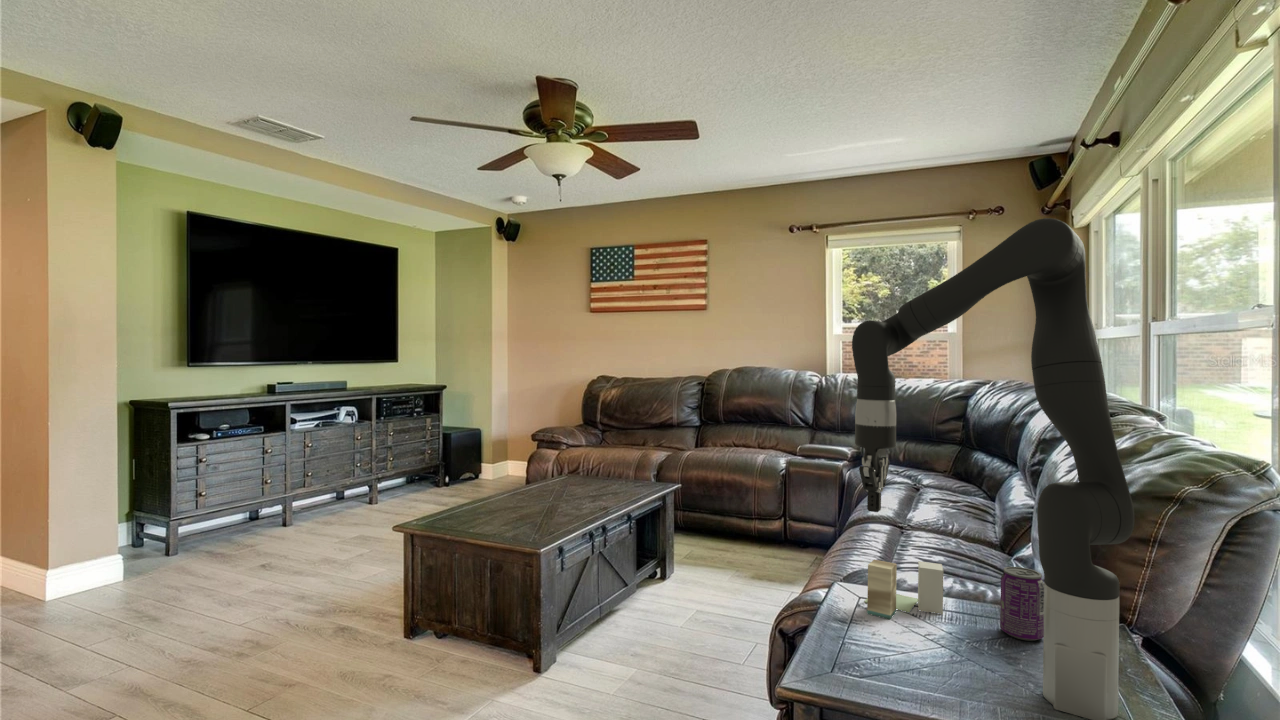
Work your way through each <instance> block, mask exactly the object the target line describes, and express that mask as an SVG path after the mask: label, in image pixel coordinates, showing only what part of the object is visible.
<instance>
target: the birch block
mask: <svg viewBox="0 0 1280 720" xmlns="http://www.w3.org/2000/svg"><path fill="white" fill-rule="evenodd" d="M897 571H898V567H897V563H894V562H889V561H884V560H878V559H873V560H871V562H869V563H868V565H867V598H868V600H867V603H866V604H867V605H866V606H867V607H866V608H867V609H866V610H867V611H866V614H867V613H868V614H867V615H870V614H872V615H871V616H874V615H876V616H875V617H878V616H880V617H879V618H882V617H884V618H883V619H886V618H887V619H886V620H890V619H893V617H894V616H895V615H896V613H897V610H896V594H897V575H898V574H897V573H898V572H897ZM895 612H896V613H895ZM893 615H894V616H893ZM892 616H893V617H892Z"/></svg>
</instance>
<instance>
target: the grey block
mask: <svg viewBox="0 0 1280 720" xmlns="http://www.w3.org/2000/svg"><path fill="white" fill-rule="evenodd" d="M917 563H918V564H917V565H918V566H917V567H918V569H917V570H918V571H917V572H918V575H917V576H918V577H917V578H918V579H917V584H918V585H917V599H918V602H917V606H918V608H919V609H918V611H919V610H921V611H920V612H923V611H926V612H925V613H929V612H935V613H941V614H940V615H942V614H944V567H943V564H942V563H935V562H928V561H921V560H920V561H918V562H917ZM935 613H934V614H935Z"/></svg>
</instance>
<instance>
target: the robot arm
mask: <svg viewBox="0 0 1280 720" xmlns="http://www.w3.org/2000/svg"><path fill="white" fill-rule="evenodd" d="M1086 277H1087V275H1086V249H1085V246H1084V243H1083V240H1082V239H1081V238H1080V236H1079V235H1078V234H1077V233H1076V232H1075V231H1074V230H1073V228H1071V227H1070V225H1068V224H1067V223H1066V222H1065V221H1062V220H1060V219H1057V218H1051V217H1049V218H1048V217H1047V218H1046V217H1045V218H1039V219H1036V220H1033V221H1031V222H1028V223H1027V224H1025V225H1024V226H1022V227H1021V228H1019V229H1018V230H1016V231H1015V232H1014V233H1012V234H1010V235H1009V236H1008V237H1006V239H1004V240H1003V241H1001V242H1000V243H999V244H997V245H996V246H995V247H993V249H991V250H990V251H988V252H987V253H986V254H984V255H983V256H981V257H979V258H978V259H977V260H975V261H974V262H973V263H971V264H970V265H968V266H966V267H965V268H964V269H963V270H961V271H959V272H957V274H955V275H953V276H952V277H950V278H948V279H947V280H945V281H943V282H941V283H939V284H938V285H936V286H934V287H932V288H931V289H928V290H927V291H925V292H923V293H922V294H919V295H918V296H916V297H914V298H912V299H911V300H909V301H906V302H905V303H904V304H903V305H901V306H900V308H899V309H898V310H897V312H896V313H895V314H893V315H892V316H890V317H887V318H886V319H884V320H882V321H880V320H865V321H863V322H860V323H859V325H857V326H856V328H855V330H854V331H853V334H852V335H853V336H852V340H851V350H852V357H853V363H854V367H855V372H856V375H857V384H856V385H857V386H856V406H855V413H854V414H855V420H854V422H855V423H854V424H855V425H854V426H855V428H854V430H855V431H854V444H855V446H857V447H860V448H864V453H863V455H862V457H861V465H860V466H859V468H858V471H859V475H860V478H861V484H862V489H863V490H865V491H866V492H867V507H866V508H867V511H868V512H872V513H873V512H874V513H878V512H880V511H881V510H882V493H883V492H884V491H883V490H884V488H886V483H887V478H888V471H889V468H890V460H889V459H888V456H887V455H886V454H887V452H886V450H889V449H894V448H896V447H897V446H896V445H897V405H896V376H895V373H893V371H892V370H891V369H890V367H889V366H890V365H889V356H892V355H895V354H897V353H899V352H900V351H903V350H905V348H907V347H908V346H910V345H911V344H913V343H914V342H915V341H917V340H918V339H920V338H921V337H924V336H926V335H928V334H931V333H932V332H934V331H936V330H938V329H940V328H942V327H944V326H946V325H948V324H950V323H952V322H954V321H955V320H957V319H959V318H960V317H961V316H963V315H964V314H966V313H967V312H968V311H969V310H971V309H972V308H973V307H974V306H976V305H977V304H978V303H979V302H980V301H981V300H982V299H984V298H985V297H986V296H988V295H990V294H991V293H993V292H994V291H996V290H998V289H999V288H1001V287H1003V286H1005V285H1007V284H1009V283H1012V282H1015V281H1018V280H1020V279H1022V278H1027V279H1028V281H1027V282H1028V283H1029V284H1028V285H1029V287H1030V290H1031V293H1032V294H1031V295H1032V299H1033V303H1034V311H1035V325H1034V331H1033V338H1032V343H1031V355H1030V362H1031V371H1032V378H1033V385H1034V393H1035V398H1036V400H1037V402H1038V404H1039V406H1040V409H1042V412H1043V413H1044V414H1045V415H1046V417H1047V418H1048V420H1049V421H1050V422H1051V424H1053V425H1054V427H1055V428H1056V430H1057V431H1058V432H1059V434H1060V435H1061V436H1062V438H1063V439H1064V440H1065V442H1066V443H1067V445H1068V447H1069V449H1070V451H1071V453H1072V457H1073V459H1074V464H1075V467H1076V472H1077V473H1076V474H1077V478H1078V481H1060V482H1059V481H1057V482H1052V483H1050V484H1048V485H1046V486H1044V488H1043V489H1042V491H1041V492H1040V494H1039V497H1038V501H1037V516H1036V517H1037V533H1038V536H1037V537H1038V555H1039V556H1038V557H1039V561H1040V565H1041V568H1042V571H1043V575H1044V576H1043V578H1044V580H1043V583H1044V637H1043V638H1042V639H1043V645H1042V646H1043V650H1042V651H1043V653H1042V656H1043V657H1042V658H1043V659H1042V664H1043V666H1042V670H1043V671H1042V694H1043V697H1044V698H1045V700H1047V702H1049V704H1052V705H1053V710H1056V711H1061V712H1064V713H1067V714H1071V715H1073V716H1077V717H1078V716H1079V717H1082V718H1084V719H1089V720H1113V719H1116V718H1117V717H1118V715H1119V657H1120V656H1119V650H1120V649H1119V648H1120V647H1119V646H1120V644H1119V643H1120V641H1119V639H1120V581H1119V578H1118V577H1117V575H1116V574H1115V573H1114V572H1112V571H1110V570H1108V569H1106V568H1103V567H1102V566H1098V565H1095V564H1094V563H1093V561H1092V553H1091V546H1095V545H1098V546H1101V545H1103V546H1105V545H1119V544H1122V543H1124V542H1126V541H1127V540H1128V539H1129V538H1130V537H1131V536H1132V533H1133V531H1134V528H1135V527H1134V526H1135V509H1134V504H1133V500H1132V496H1131V493H1130V490H1129V489H1130V488H1129V486H1128V482H1127V479H1126V475H1125V472H1124V468H1123V466H1122V461H1121V458H1120V454H1119V451H1118V447H1117V443H1116V439H1115V434H1114V433H1115V432H1114V428H1113V422H1112V419H1111V413H1110V408H1109V404H1108V403H1109V402H1108V395H1107V387H1106V381H1105V374H1104V368H1103V367H1104V366H1103V362H1102V357H1101V353H1100V349H1099V344H1098V340H1097V337H1096V336H1097V335H1096V331H1095V327H1094V324H1093V321H1092V318H1091V314H1090V310H1089V306H1088V298H1087V297H1088V296H1087V295H1088V294H1087V279H1086Z"/></svg>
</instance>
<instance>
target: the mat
mask: <svg viewBox="0 0 1280 720" xmlns="http://www.w3.org/2000/svg"><path fill="white" fill-rule="evenodd" d="M867 600H868V597H867V598H865V600H864V601H863V603H864V602H865V604H867ZM916 604H918V597H912V596H907V595H903V594H898V593H896V609H898V610H902V611H906V612H910V613H911V611H912V610H913V609H912V607H913V606H914V605H915V606H916ZM915 606H914V607H915ZM914 607H913V608H914ZM911 609H912V610H911ZM910 610H911V611H910ZM902 611H901V612H902ZM906 612H905V613H906Z"/></svg>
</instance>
